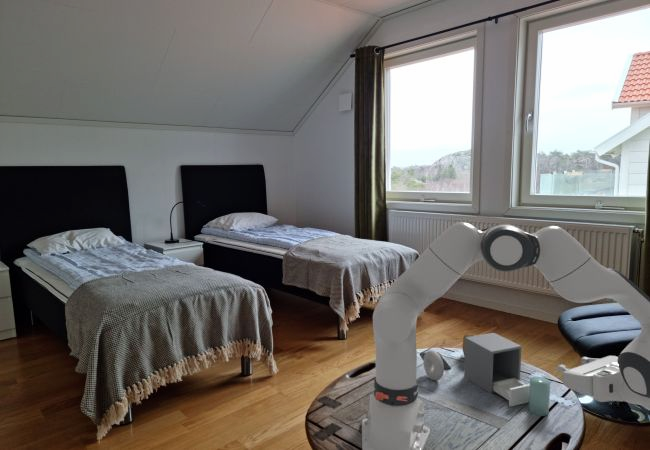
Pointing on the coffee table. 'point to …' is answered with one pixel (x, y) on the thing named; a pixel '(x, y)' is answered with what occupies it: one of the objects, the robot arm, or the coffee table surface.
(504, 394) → the tray
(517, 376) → the housing
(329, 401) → the coffee table surface
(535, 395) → the sage green cylinder
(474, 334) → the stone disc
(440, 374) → the donut
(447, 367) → the smartphone
